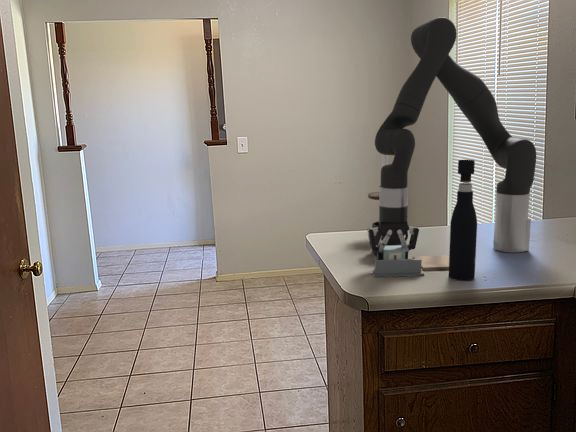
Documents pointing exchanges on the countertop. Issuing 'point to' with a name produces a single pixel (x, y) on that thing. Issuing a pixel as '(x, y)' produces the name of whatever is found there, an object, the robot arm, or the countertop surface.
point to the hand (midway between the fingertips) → (392, 264)
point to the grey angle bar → (398, 268)
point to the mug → (389, 243)
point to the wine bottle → (463, 228)
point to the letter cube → (393, 252)
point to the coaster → (434, 262)
